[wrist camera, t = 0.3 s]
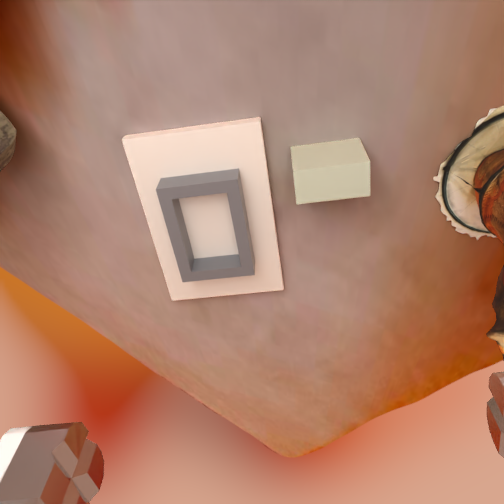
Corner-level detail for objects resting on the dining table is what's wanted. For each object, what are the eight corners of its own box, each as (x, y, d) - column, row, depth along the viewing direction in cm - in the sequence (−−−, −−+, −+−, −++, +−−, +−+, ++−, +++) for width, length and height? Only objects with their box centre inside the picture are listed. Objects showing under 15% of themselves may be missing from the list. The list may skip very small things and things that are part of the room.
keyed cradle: (124, 135, 54) (114, 149, 51) (260, 116, 53) (259, 130, 49) (173, 294, 68) (168, 314, 64) (283, 283, 66) (284, 304, 62)
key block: (290, 146, 55) (292, 171, 49) (359, 137, 54) (370, 161, 48) (293, 177, 57) (296, 204, 51) (359, 169, 56) (370, 195, 50)
